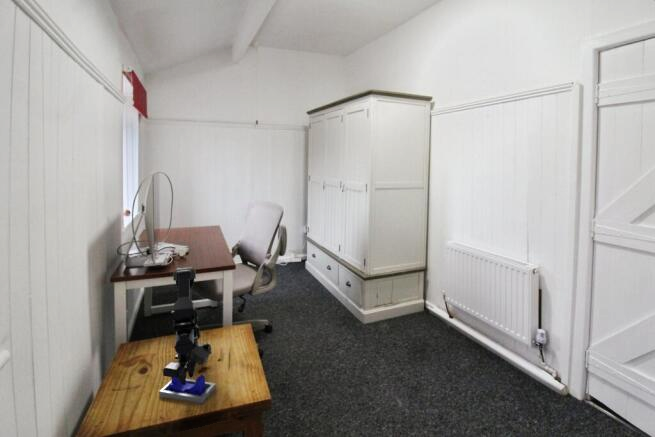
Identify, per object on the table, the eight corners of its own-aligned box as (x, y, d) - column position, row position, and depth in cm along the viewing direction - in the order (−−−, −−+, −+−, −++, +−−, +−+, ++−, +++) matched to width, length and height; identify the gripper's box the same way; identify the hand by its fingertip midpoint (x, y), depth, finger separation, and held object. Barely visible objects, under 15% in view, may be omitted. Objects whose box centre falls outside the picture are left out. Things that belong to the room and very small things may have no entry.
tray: (159, 396, 130) (159, 391, 130) (175, 381, 139) (174, 376, 139) (202, 404, 127) (202, 398, 126) (215, 388, 135) (215, 383, 135)
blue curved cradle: (169, 391, 132) (168, 376, 131) (177, 384, 136) (176, 369, 136) (197, 398, 129) (196, 382, 128) (205, 390, 133) (204, 375, 132)
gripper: (190, 357, 119) (192, 400, 121) (219, 331, 137) (221, 369, 139) (160, 352, 121) (163, 395, 124) (192, 327, 139) (194, 365, 142)
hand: (187, 380), depth 132 cm, fingers open, 4 cm apart
